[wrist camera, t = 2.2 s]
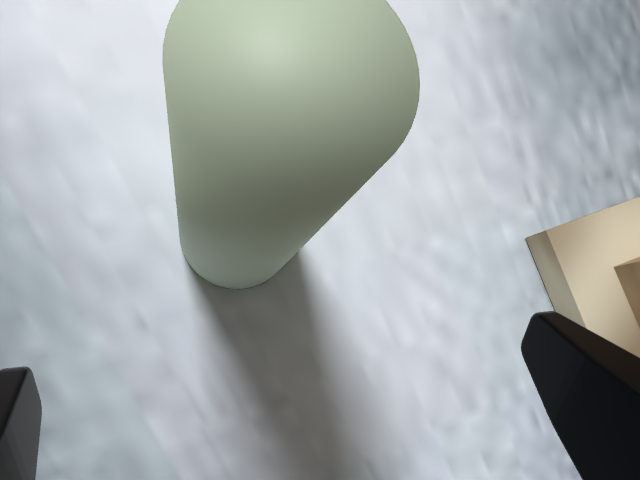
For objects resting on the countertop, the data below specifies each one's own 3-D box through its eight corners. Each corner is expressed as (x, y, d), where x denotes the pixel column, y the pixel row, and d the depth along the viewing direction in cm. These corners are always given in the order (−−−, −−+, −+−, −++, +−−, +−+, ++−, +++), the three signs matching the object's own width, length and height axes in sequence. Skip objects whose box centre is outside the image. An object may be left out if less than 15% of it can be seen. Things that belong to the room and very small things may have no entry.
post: (307, 268, 22) (456, 152, 10) (199, 304, 21) (212, 224, 8) (271, 167, 23) (368, -66, 10) (164, 196, 21) (127, -27, 9)
